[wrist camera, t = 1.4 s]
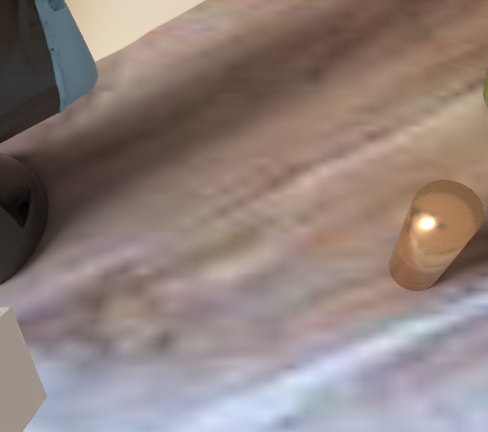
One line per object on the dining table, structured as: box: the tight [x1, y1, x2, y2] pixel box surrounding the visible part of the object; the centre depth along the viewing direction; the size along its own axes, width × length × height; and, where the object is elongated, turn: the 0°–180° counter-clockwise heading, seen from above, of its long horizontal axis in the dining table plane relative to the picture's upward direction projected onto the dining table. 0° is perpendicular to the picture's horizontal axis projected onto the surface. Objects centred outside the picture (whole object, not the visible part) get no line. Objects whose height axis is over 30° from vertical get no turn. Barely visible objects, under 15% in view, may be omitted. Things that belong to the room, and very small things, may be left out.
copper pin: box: [389, 180, 484, 291], centre depth 32 cm, size 4×4×12 cm
